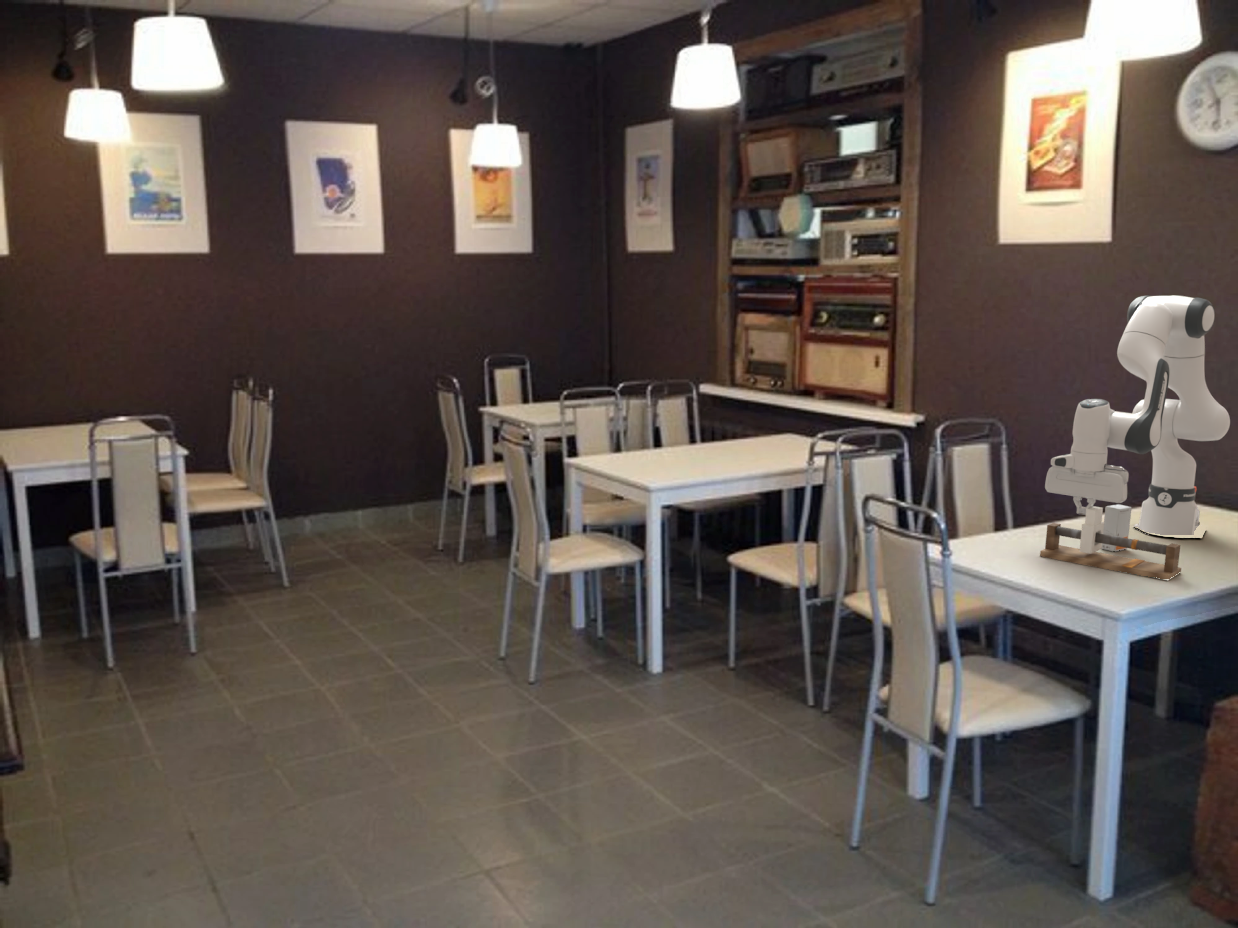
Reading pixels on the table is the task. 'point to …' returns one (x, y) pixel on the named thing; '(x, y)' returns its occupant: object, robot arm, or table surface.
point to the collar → (1091, 530)
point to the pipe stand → (1112, 561)
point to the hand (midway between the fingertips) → (1083, 514)
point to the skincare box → (1116, 524)
